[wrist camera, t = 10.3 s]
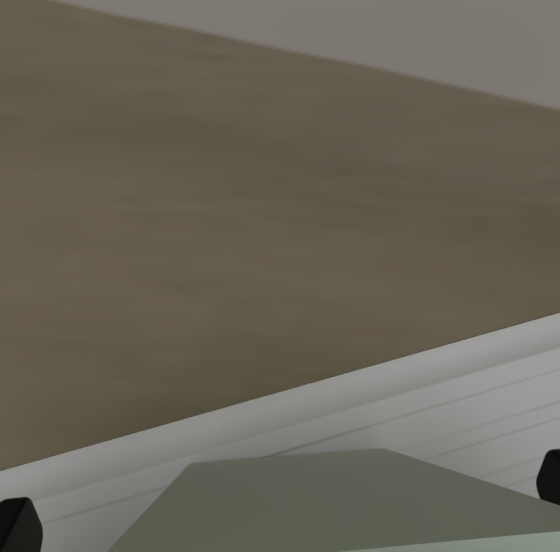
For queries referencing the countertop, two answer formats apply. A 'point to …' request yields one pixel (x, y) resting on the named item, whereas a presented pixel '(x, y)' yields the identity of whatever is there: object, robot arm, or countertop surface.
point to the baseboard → (324, 432)
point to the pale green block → (339, 509)
